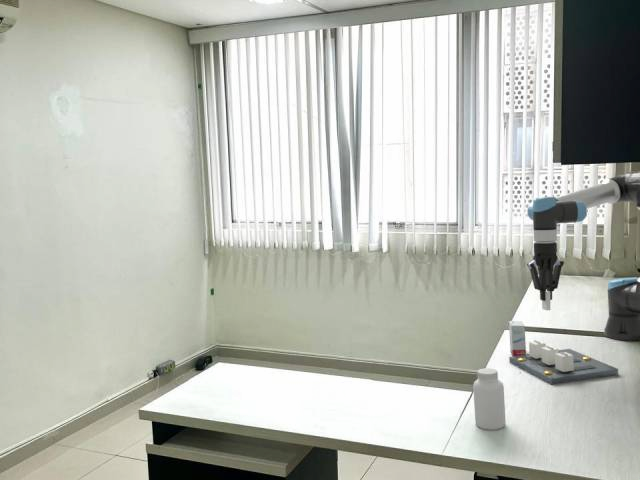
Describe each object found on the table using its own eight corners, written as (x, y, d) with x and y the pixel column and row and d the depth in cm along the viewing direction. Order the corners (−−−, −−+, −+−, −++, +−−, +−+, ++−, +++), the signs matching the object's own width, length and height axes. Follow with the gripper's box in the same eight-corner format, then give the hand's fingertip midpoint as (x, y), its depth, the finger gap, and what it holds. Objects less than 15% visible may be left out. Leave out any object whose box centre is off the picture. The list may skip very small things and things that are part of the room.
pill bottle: (471, 420, 167) (468, 367, 166) (499, 417, 168) (496, 365, 166) (481, 432, 159) (478, 376, 158) (510, 429, 160) (508, 374, 158)
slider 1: (539, 354, 214) (539, 339, 214) (546, 357, 211) (545, 342, 210) (529, 355, 214) (528, 340, 213) (535, 358, 210) (535, 343, 209)
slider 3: (566, 366, 199) (565, 350, 198) (573, 370, 195) (573, 354, 194) (555, 368, 198) (554, 352, 198) (562, 371, 194) (562, 355, 194)
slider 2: (552, 360, 207) (551, 344, 206) (559, 363, 203) (558, 347, 202) (541, 361, 206) (541, 346, 205) (548, 365, 202) (547, 349, 201)
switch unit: (569, 354, 220) (569, 347, 220) (618, 374, 195) (618, 367, 195) (509, 362, 216) (509, 355, 215) (551, 384, 190) (551, 377, 190)
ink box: (526, 357, 220) (525, 325, 219) (512, 357, 221) (511, 325, 220) (523, 350, 229) (522, 320, 228) (510, 350, 230) (508, 320, 229)
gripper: (556, 239, 212) (557, 306, 214) (522, 242, 209) (523, 309, 211) (568, 241, 205) (569, 309, 206) (533, 244, 202) (535, 313, 204)
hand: (546, 309), depth 209 cm, fingers closed
